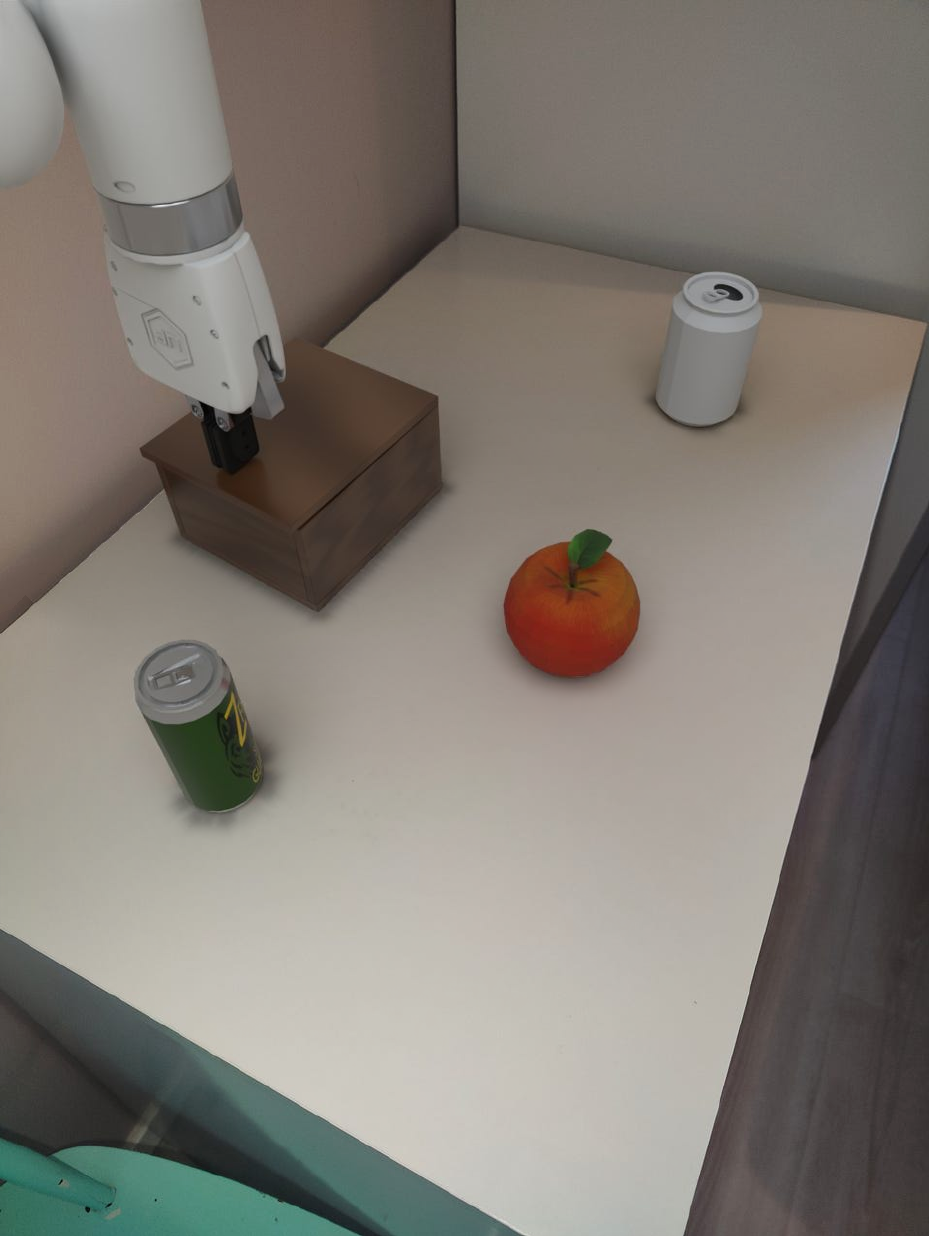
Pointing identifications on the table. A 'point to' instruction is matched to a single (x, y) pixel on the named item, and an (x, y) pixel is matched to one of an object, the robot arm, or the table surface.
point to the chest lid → (302, 437)
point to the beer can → (199, 724)
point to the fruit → (572, 607)
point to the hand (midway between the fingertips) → (237, 458)
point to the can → (708, 348)
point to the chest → (317, 520)
